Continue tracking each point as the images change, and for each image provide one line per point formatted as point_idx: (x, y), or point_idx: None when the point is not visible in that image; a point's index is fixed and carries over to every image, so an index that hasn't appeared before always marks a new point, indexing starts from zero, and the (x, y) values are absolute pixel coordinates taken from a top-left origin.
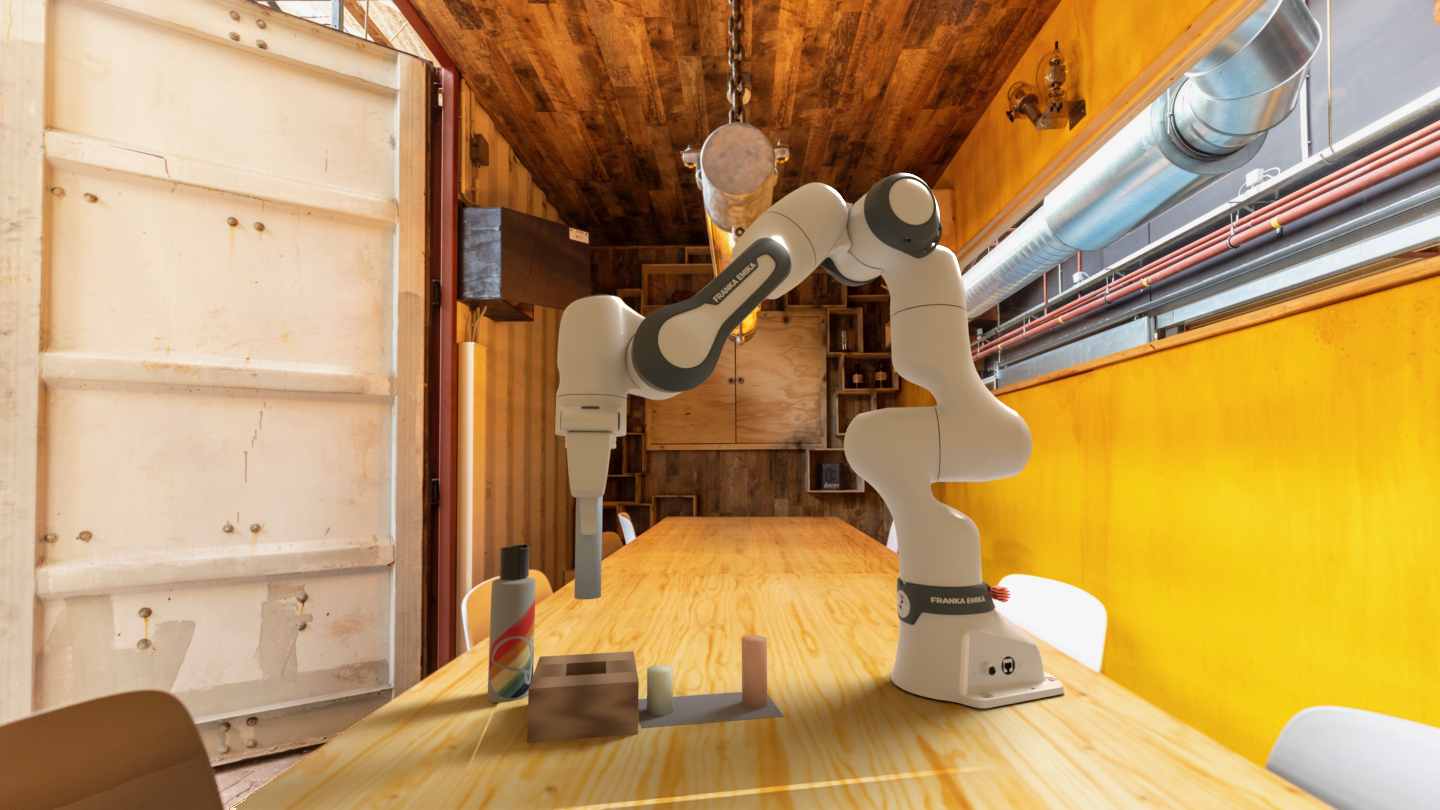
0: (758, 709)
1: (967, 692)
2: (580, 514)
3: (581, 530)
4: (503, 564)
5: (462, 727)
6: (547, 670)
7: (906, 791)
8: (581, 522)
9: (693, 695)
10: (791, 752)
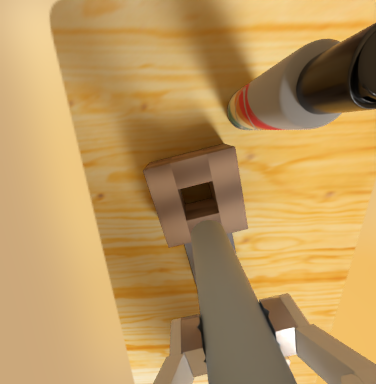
0: None
1: None
2: (156, 377)
3: (171, 327)
4: (322, 60)
5: (178, 96)
6: (191, 169)
7: (128, 335)
8: (170, 348)
9: (234, 250)
10: (159, 299)
